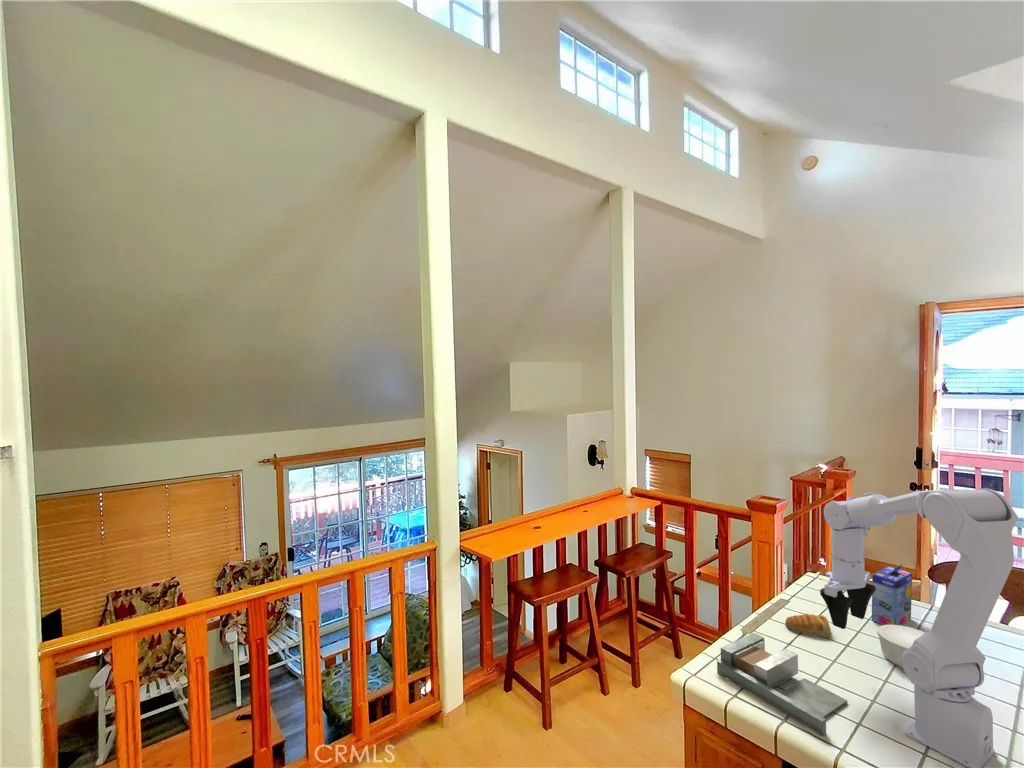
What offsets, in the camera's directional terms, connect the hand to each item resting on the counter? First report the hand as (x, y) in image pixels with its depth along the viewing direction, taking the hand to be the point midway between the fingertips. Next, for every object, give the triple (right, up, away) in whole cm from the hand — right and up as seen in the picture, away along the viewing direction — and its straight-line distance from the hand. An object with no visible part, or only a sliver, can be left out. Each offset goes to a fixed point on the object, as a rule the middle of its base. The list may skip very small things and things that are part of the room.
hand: (848, 621), depth 100 cm
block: (-20, -11, -1) cm, 23 cm away
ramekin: (+16, -10, +3) cm, 19 cm away
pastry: (+2, -11, +16) cm, 20 cm away
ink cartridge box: (+26, -10, +20) cm, 34 cm away
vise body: (-16, -11, -5) cm, 20 cm away
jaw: (-17, -10, -4) cm, 20 cm away
